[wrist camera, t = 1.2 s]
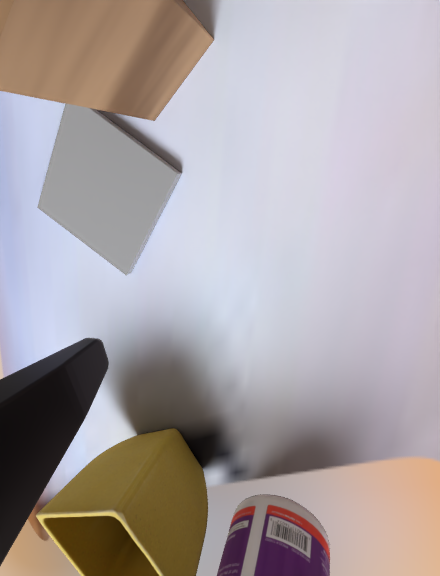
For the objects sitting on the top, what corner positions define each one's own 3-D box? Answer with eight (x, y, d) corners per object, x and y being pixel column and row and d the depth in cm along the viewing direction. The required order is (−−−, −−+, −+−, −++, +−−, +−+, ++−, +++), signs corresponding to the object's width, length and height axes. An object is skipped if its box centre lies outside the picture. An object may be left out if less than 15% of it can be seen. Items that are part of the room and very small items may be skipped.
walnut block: (214, 39, 15) (56, -113, 7) (154, 120, 18) (-19, 86, 9) (146, -46, 15) (-117, -328, 6) (94, 48, 17) (-147, -59, 9)
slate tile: (181, 173, 18) (177, 173, 18) (131, 272, 22) (126, 275, 22) (75, 94, 19) (68, 92, 18) (44, 206, 23) (37, 207, 22)
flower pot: (111, 420, 30) (30, 516, 22) (182, 403, 26) (114, 513, 18) (158, 489, 31) (100, 600, 23) (231, 482, 27) (190, 614, 19)
